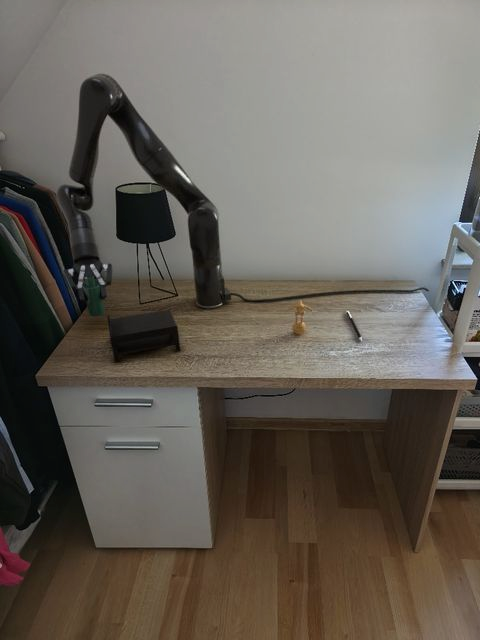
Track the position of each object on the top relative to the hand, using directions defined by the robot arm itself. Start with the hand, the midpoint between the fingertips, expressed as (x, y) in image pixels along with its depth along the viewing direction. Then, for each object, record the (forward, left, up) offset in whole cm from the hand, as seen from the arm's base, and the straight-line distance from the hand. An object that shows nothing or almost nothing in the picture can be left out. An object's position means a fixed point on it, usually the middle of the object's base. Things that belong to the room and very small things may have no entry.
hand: (94, 300), depth 140 cm
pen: (-74, +21, -10) cm, 77 cm away
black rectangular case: (-12, +12, -11) cm, 20 cm away
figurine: (-56, +21, -11) cm, 61 cm away
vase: (0, -2, -5) cm, 5 cm away
